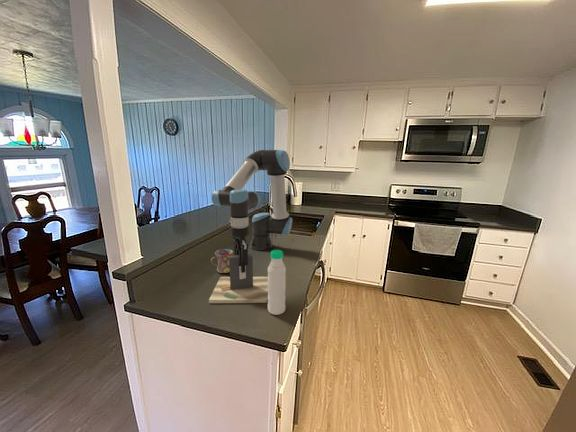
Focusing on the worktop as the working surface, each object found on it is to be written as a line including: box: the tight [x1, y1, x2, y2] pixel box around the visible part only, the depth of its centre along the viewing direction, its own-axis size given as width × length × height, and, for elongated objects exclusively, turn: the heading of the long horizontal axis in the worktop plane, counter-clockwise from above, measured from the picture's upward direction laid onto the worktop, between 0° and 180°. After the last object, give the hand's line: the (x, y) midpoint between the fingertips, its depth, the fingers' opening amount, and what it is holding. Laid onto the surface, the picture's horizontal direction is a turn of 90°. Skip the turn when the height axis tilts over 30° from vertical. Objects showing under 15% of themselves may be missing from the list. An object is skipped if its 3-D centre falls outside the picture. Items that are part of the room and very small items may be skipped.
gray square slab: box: [221, 253, 254, 289], centre depth 106 cm, size 3×14×15 cm, turn 105°
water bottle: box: [267, 249, 287, 316], centre depth 92 cm, size 7×7×25 cm
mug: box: [210, 248, 234, 274], centre depth 126 cm, size 12×9×11 cm
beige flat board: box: [208, 276, 268, 304], centre depth 109 cm, size 20×24×2 cm
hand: (241, 276), depth 107 cm, fingers closed on gray square slab, 3 cm apart
